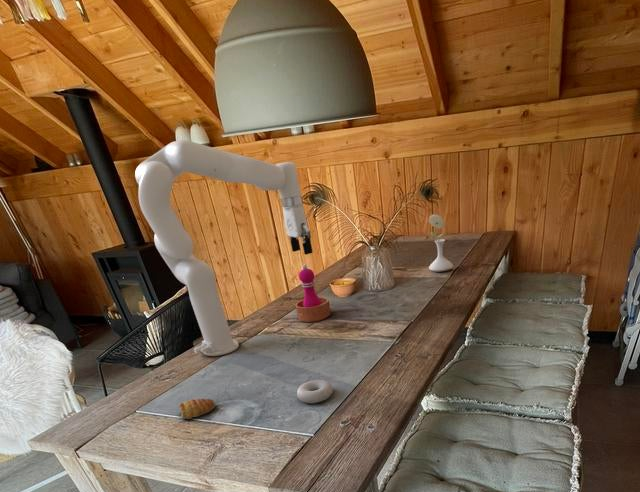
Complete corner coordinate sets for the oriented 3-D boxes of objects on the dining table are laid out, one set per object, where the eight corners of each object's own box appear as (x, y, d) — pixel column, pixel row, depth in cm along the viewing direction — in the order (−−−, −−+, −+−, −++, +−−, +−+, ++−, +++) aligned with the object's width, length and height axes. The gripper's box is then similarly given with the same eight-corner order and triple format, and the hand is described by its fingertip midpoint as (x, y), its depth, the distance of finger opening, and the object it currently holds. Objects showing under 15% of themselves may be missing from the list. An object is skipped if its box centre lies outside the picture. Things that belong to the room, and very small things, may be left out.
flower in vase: (457, 269, 223) (456, 212, 209) (438, 275, 218) (436, 217, 204) (440, 265, 232) (438, 211, 219) (422, 270, 228) (418, 215, 214)
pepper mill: (322, 317, 184) (312, 266, 173) (304, 319, 185) (293, 268, 174) (324, 311, 190) (315, 261, 179) (307, 313, 191) (296, 263, 180)
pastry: (213, 401, 134) (208, 390, 132) (218, 411, 129) (213, 399, 127) (179, 412, 131) (175, 401, 129) (183, 422, 126) (178, 410, 124)
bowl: (314, 324, 180) (311, 309, 177) (291, 320, 187) (288, 305, 184) (337, 313, 188) (335, 298, 185) (315, 309, 196) (312, 295, 192)
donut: (303, 389, 135) (293, 406, 126) (301, 378, 133) (291, 394, 125) (337, 387, 133) (328, 404, 125) (335, 377, 131) (326, 393, 123)
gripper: (272, 203, 169) (283, 252, 179) (293, 205, 157) (304, 257, 166) (290, 199, 173) (300, 247, 182) (312, 201, 160) (322, 252, 170)
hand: (302, 252), depth 174 cm, fingers open, 9 cm apart
